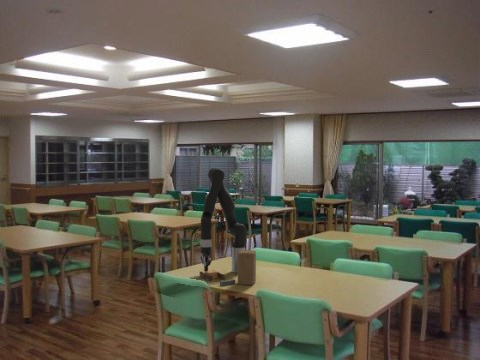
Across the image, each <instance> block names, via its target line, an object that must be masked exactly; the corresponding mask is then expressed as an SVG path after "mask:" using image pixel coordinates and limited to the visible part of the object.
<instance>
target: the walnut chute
mask: <svg viewBox="0 0 480 360" xmlns="http://www.w3.org/2000/svg"><path fill="white" fill-rule="evenodd" d="M212 270H213V269H212ZM213 271H215V270H213ZM216 272H217V278H218V279H221V281H225V274H223V273H222V272H218V271H216ZM199 277H201V278H203V279H205V280H206V281H209V282H213V279H212V276H210V275H208V274H206V273H205V272H204V271H199Z"/></svg>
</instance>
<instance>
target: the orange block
mask: <svg viewBox="0 0 480 360" xmlns="http://www.w3.org/2000/svg"><path fill="white" fill-rule="evenodd" d="M217 272H218V271H216V270H214V271H213V269H211V270H208V271H204V273H206V274H208V275H210V276H212V280H213V279H217V278H218V277H217Z"/></svg>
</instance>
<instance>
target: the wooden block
mask: <svg viewBox="0 0 480 360" xmlns="http://www.w3.org/2000/svg"><path fill="white" fill-rule="evenodd" d="M256 255H257V252H256V250H246V249H245V250H241V251H240V252H239V253H238V273H237V284H238V285H241V286H254V284H255V283H256V281H257V276H256V275H257V271H256V270H257V268H256V266H257V259H256V258H257V256H256Z"/></svg>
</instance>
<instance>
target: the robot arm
mask: <svg viewBox="0 0 480 360" xmlns="http://www.w3.org/2000/svg"><path fill="white" fill-rule="evenodd" d="M207 175H208V179H209V180H210V181H209V182H210V183H211V186H210V189H209V192H208V194H207V196H206V198H205V200H204V206H203V211H202V215H201V218H200V228H201V229H200V230H201V231H200V242H199V243H200V244H199V245H200V247H199V249H200V254H201V256H200V260H201V263H202V265H203V272H205V271H209V266H211V263H212V261H213V259H212V258H211V255H210V254H211V253H212V252H213V251H212V250H213V242H212V219H213V214H214V211H215V208H216V203H217V199H218V203H219V206H220V207H221V209H222V212H223V215H224V217H225V219H226V223H227V227H228V230H229V232H230V235H232V236H233V237H234V241H233V242H232V243H231V273H235V274H238V253H239V252H240V251H241V250H246V244H247V238H248V237H247V235H248V234H247V233H248V231H247V226H246V225H244V224H243V223H239V221H238V220H237V217H236V206H235V205H236V204H235V201H234V199H233V197H232V195H231V193H230V192H229V190H228V189H227V187H226V186H225V184H224V180H225V172H224V170H223V169H221V168H218V167H213V168H210V169H209V171H208V173H207Z"/></svg>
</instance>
